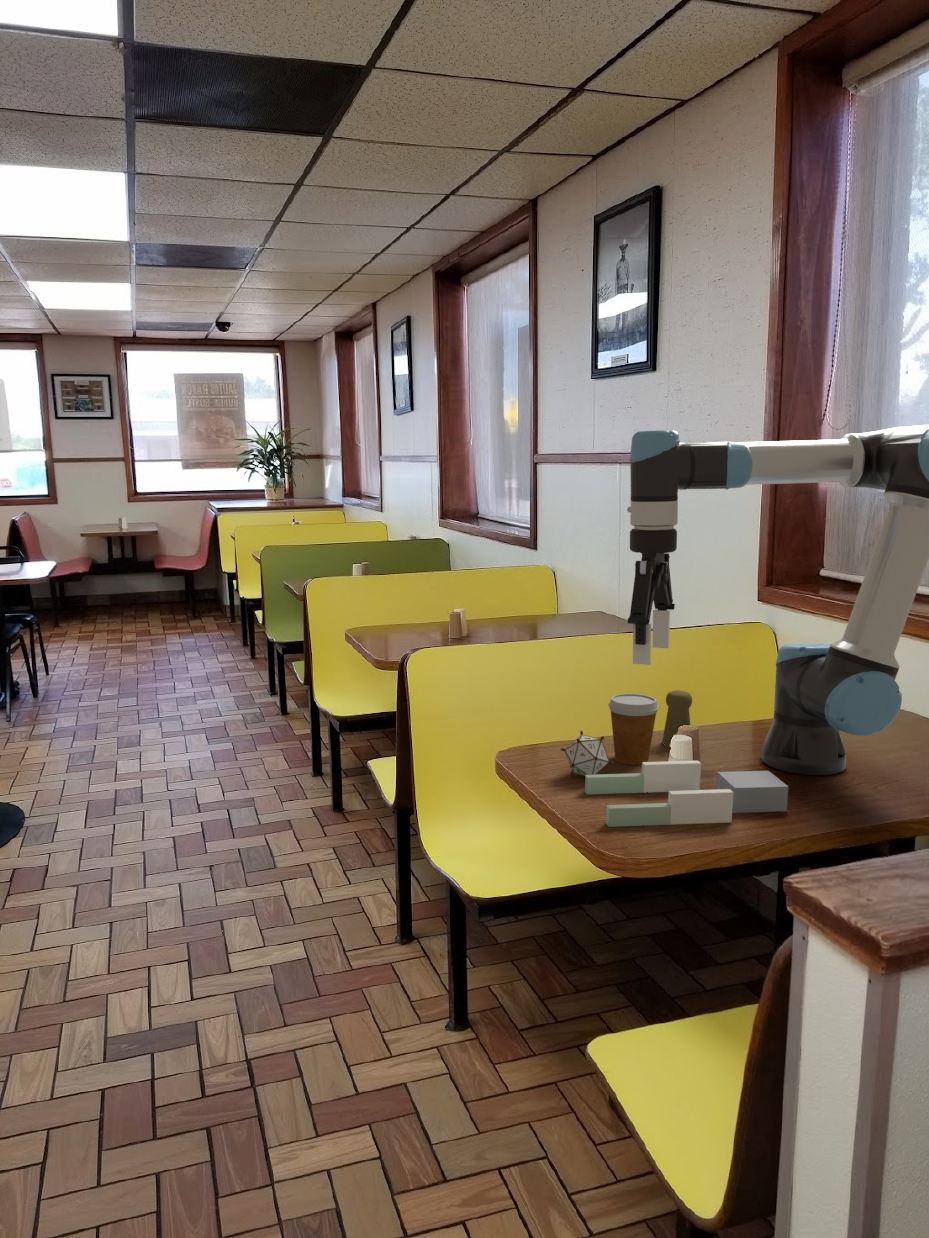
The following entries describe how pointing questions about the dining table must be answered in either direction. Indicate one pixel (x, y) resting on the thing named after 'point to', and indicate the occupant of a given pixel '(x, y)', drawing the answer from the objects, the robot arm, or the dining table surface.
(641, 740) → the disposable coffee cup
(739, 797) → the slate block
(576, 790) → the dining table surface
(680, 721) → the pepper mill
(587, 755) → the game die
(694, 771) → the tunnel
